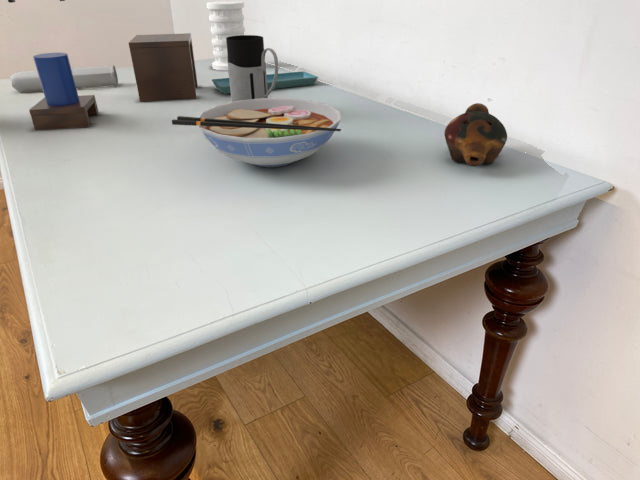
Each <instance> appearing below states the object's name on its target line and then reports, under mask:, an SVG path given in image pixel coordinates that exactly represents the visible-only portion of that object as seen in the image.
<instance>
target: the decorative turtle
mask: <svg viewBox="0 0 640 480" xmlns="http://www.w3.org/2000/svg"><path fill="white" fill-rule="evenodd" d="M444 140H445V142H446V143H445V144H446V146H447V149H448V152H449V155H450V158H451V161H452V162H454V163H460V162H462V161H463V160H464V161H465V163H466V164H467V165H469V166H472V167H479V166H481V165H482V164H483V163H484V164H485V165H492V164H493V163H494V162H495V161H496V159H497V158H498V157H499V155H500V154H501V152H502V151H503V149H504V147H505V145H506V143H507V142H508V141H507V140H508V132H507V129H506V127H505V125H504V124H503V123H502V121H501V120H500V119H498V117H496V116H494V115H493V114H491V113H490V112H489V108H488V106H486V105H485V104H483V103H479V102H477V103H473V104H471V105H469V106H468V107H467V108H466V110H465V112H464V113H461V114H459V115H457V116H456V117H454V118H453V119H452V120H450V122H449V123H448V124H447V125H446V126H445V128H444Z"/></svg>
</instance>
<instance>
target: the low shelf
mask: <svg viewBox="0 0 640 480" xmlns="http://www.w3.org/2000/svg"><path fill="white" fill-rule="evenodd" d="M78 97H79V101H78V102H77V103H74V104H69V105H62V106H51V105H48V104H47V102H46V99H45V97H43V98H42V99H41V100H39V101H38V102H37V103H36V104H34V105H33V106H32V107H31V108H29V115H30V118H31V121H32V124H33V127H34V131H44V130H45V131H47V130H60V129H61V130H62V129H77V128H89V127H91V121H90V117H94V116H98V115H99V113H100V112H99V108H98V104H97V99H96V95H95V94H87V95H86V94H85V95H78Z"/></svg>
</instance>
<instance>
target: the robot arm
mask: <svg viewBox="0 0 640 480" xmlns="http://www.w3.org/2000/svg"><path fill="white" fill-rule="evenodd" d="M7 1H8V3H10V4H11V3H16V0H7ZM59 1H60V2H65V1H66V0H59Z"/></svg>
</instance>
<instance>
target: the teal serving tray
mask: <svg viewBox="0 0 640 480" xmlns="http://www.w3.org/2000/svg"><path fill="white" fill-rule="evenodd" d="M266 76H267V91H269V89H270V88H271V86H272V83H273V79H274V73H269V74H267V73H266ZM318 78H319V77H318V76H317V75H315V74H312V73H310V72H308V71H303V70H302V71H291V72H290V71H289V72H280V73H279V72H278V77H277V81H276V84H275V87H274V89H273V90H275V89H276V90H277V89H284V88H294V87H302V86H303V87H304V86H313V85H315V83H316V82H317V80H318ZM211 82H212V83H213V85H214V86H215V89H217V90H218V91H219V92H221V93H223V94H224V95H226V94H227V95H228V94H231V91H230V81H229V77H225V78H224V77H223V78H221V77H220V78H213V79H211Z"/></svg>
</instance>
